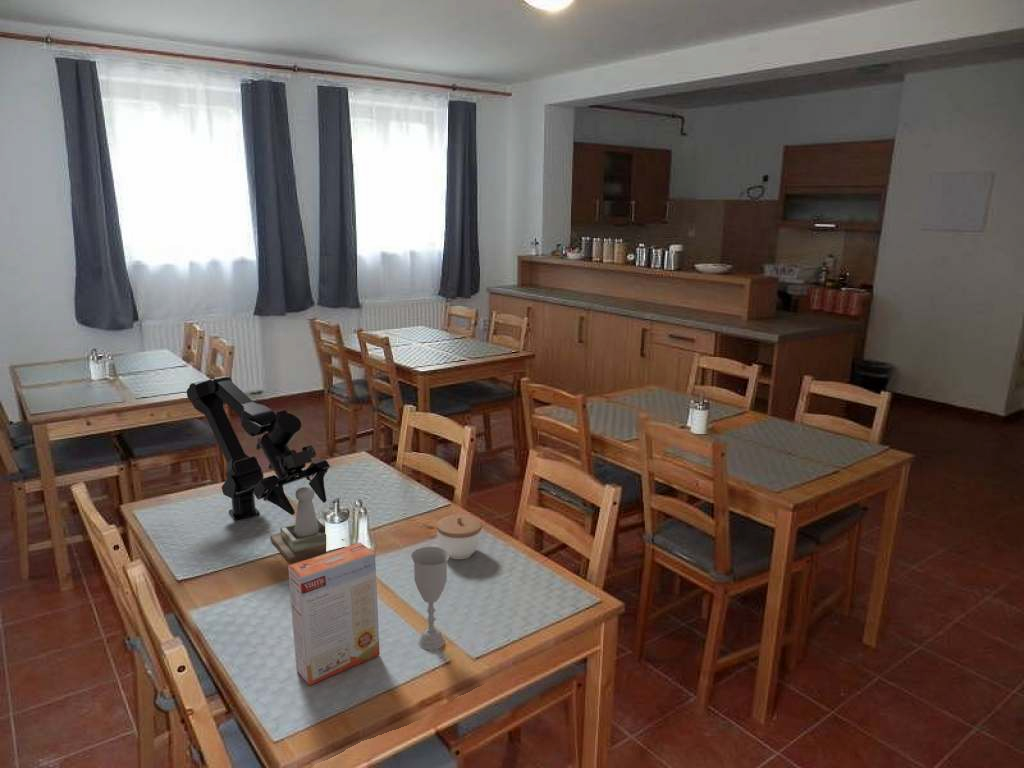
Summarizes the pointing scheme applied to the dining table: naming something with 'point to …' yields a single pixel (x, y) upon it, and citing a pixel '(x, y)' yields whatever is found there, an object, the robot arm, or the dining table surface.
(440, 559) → the chalice
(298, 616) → the cracker box
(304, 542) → the stand
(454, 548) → the lidded jar
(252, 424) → the robot arm
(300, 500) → the salt shaker
